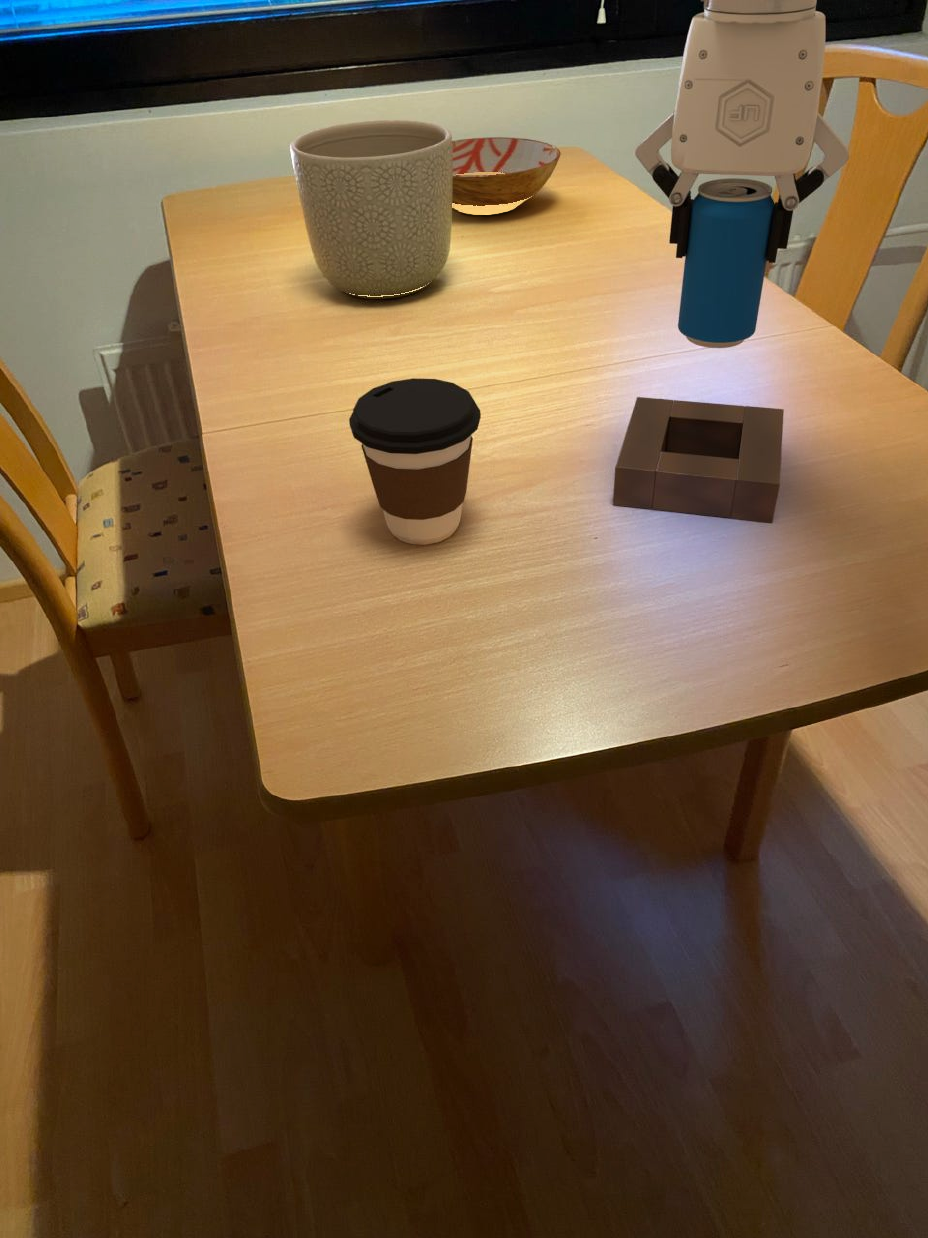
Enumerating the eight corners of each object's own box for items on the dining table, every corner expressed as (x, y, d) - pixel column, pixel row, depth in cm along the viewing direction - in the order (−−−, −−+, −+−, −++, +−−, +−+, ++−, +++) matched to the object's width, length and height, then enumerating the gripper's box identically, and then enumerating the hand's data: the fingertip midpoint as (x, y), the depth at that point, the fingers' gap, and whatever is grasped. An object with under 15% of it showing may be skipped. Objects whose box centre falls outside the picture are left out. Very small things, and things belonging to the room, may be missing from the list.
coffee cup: (338, 531, 84) (319, 410, 76) (422, 481, 90) (412, 364, 82) (426, 576, 78) (415, 450, 70) (509, 519, 84) (507, 397, 76)
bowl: (589, 208, 155) (591, 156, 150) (459, 239, 146) (456, 185, 141) (509, 177, 172) (508, 129, 167) (388, 202, 163) (383, 153, 158)
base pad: (776, 445, 92) (783, 408, 90) (772, 523, 82) (779, 483, 79) (634, 432, 96) (637, 396, 93) (612, 505, 85) (615, 466, 83)
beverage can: (770, 338, 79) (796, 188, 72) (716, 358, 77) (737, 205, 69) (714, 315, 83) (733, 172, 76) (661, 334, 81) (675, 187, 73)
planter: (302, 271, 138) (280, 129, 126) (437, 252, 141) (428, 113, 129) (325, 322, 122) (302, 166, 110) (476, 299, 126) (471, 145, 114)
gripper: (628, 0, 64) (612, 265, 75) (899, -4, 59) (839, 277, 71) (642, -14, 69) (626, 235, 80) (892, -18, 65) (837, 245, 76)
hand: (726, 252), depth 76 cm, fingers closed on beverage can, 6 cm apart
